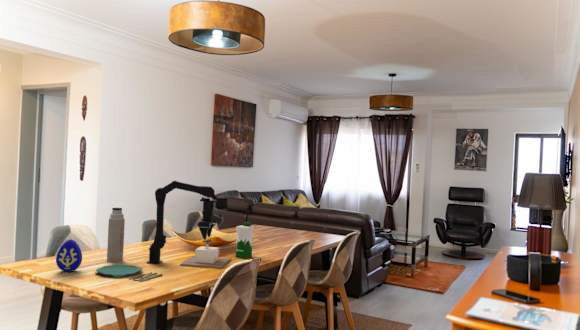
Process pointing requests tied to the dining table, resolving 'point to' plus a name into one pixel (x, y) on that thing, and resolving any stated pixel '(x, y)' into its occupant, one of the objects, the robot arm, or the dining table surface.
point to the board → (218, 264)
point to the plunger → (207, 242)
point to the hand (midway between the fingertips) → (206, 238)
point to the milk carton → (244, 240)
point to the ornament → (69, 256)
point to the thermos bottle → (115, 236)
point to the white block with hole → (206, 254)
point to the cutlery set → (124, 271)
